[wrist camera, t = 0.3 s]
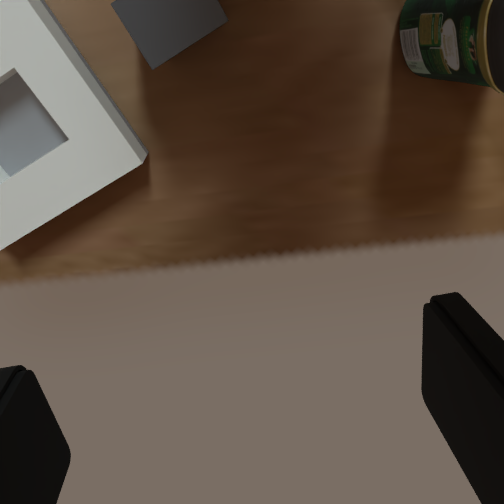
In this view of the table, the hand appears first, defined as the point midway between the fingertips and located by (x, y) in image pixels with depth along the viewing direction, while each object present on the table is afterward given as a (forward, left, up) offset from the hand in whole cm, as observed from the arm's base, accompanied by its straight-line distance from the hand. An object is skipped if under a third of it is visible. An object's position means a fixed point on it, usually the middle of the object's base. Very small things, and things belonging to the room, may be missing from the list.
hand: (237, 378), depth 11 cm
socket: (-9, -16, -35) cm, 39 cm away
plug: (-9, +3, -35) cm, 36 cm away
